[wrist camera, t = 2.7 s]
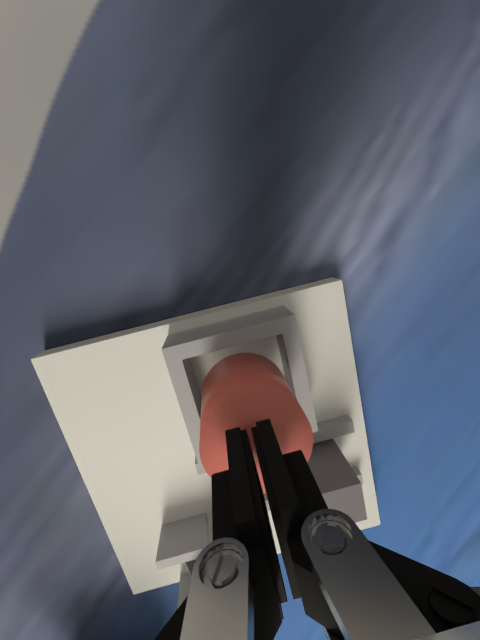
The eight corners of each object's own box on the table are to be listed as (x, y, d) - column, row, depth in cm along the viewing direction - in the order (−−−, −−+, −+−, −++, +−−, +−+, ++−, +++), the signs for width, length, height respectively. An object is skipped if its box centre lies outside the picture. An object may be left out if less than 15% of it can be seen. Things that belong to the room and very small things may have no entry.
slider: (332, 437, 20) (361, 483, 16) (337, 468, 21) (367, 519, 17) (296, 447, 20) (316, 495, 16) (303, 477, 21) (324, 531, 17)
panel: (332, 277, 20) (362, 285, 16) (370, 507, 24) (401, 558, 20) (44, 350, 19) (1, 377, 15) (138, 572, 23) (124, 638, 20)
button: (276, 342, 16) (301, 380, 12) (293, 418, 17) (321, 477, 13) (191, 365, 16) (185, 411, 11) (214, 439, 17) (215, 507, 13)
